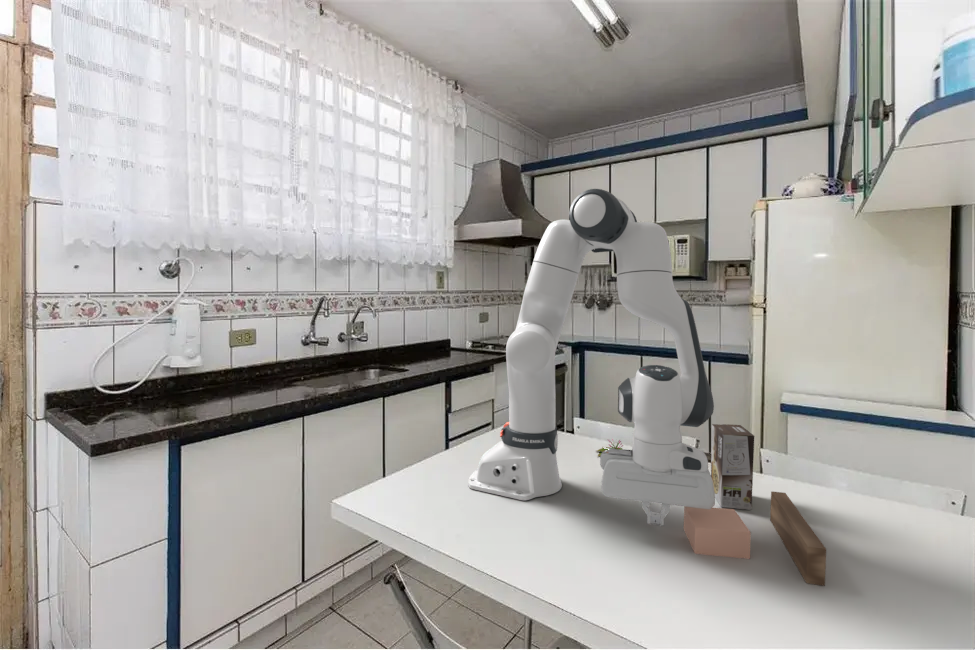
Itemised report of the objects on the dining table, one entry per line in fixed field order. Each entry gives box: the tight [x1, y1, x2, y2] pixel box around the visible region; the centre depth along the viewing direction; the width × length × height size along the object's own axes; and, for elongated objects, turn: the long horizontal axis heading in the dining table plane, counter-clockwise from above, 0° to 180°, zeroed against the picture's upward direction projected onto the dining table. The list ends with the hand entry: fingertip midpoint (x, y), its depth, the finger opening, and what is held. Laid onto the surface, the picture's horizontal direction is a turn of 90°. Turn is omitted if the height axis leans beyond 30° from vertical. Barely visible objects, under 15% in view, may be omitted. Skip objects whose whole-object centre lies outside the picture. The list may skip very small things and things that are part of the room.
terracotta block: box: [683, 506, 752, 560], centre depth 87 cm, size 9×9×5 cm
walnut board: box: [769, 490, 827, 587], centre depth 85 cm, size 2×22×6 cm, turn 162°
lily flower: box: [596, 438, 632, 457], centre depth 136 cm, size 12×12×5 cm
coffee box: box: [710, 423, 755, 511], centre depth 105 cm, size 9×6×16 cm
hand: (655, 523), depth 90 cm, fingers closed
